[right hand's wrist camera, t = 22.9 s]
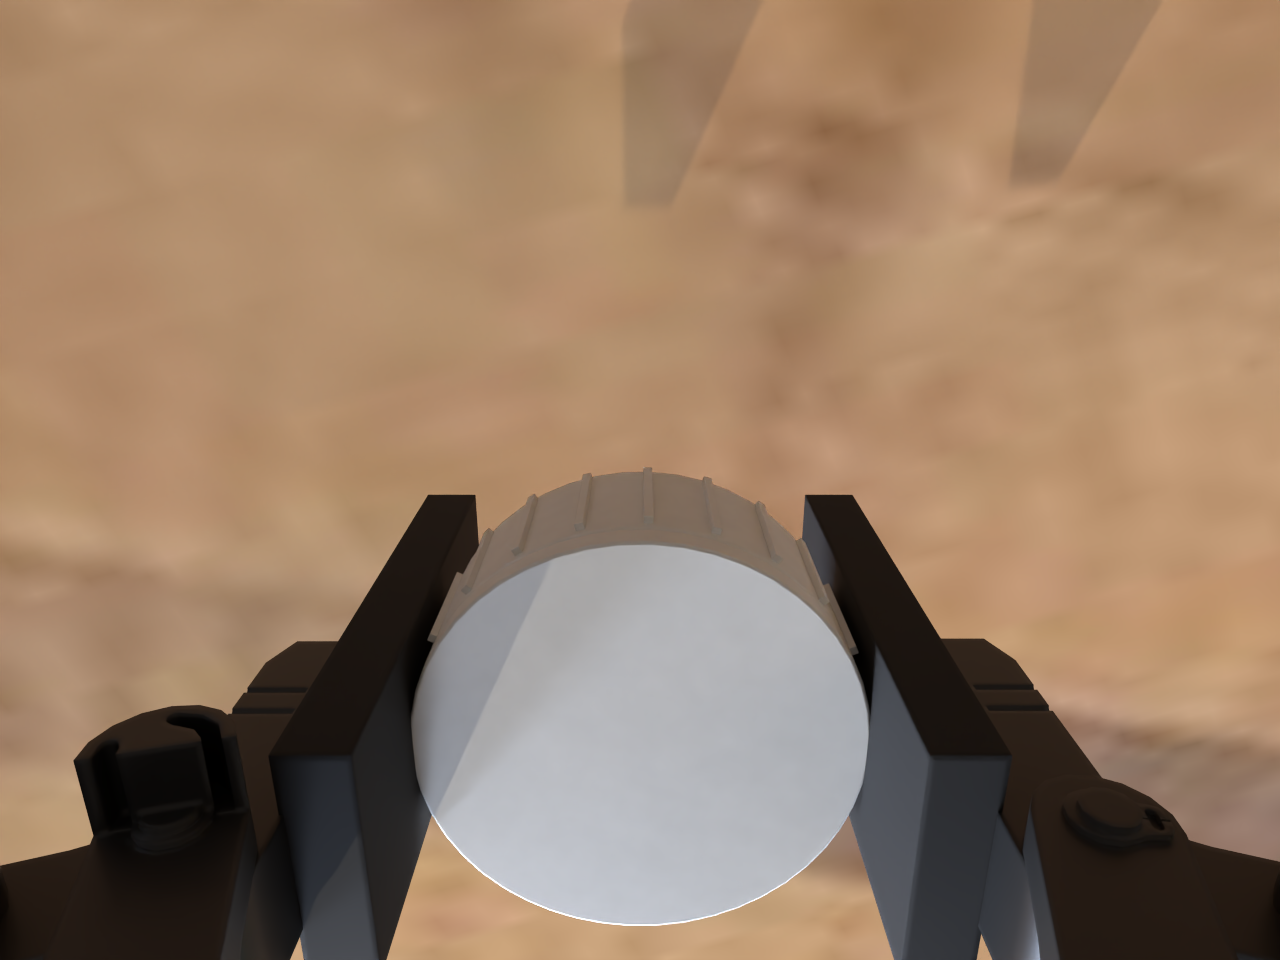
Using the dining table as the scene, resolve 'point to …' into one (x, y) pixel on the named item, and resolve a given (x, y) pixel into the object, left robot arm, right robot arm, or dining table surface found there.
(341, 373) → the dining table surface
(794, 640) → the lid
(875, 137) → the dining table surface
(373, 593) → the right robot arm
